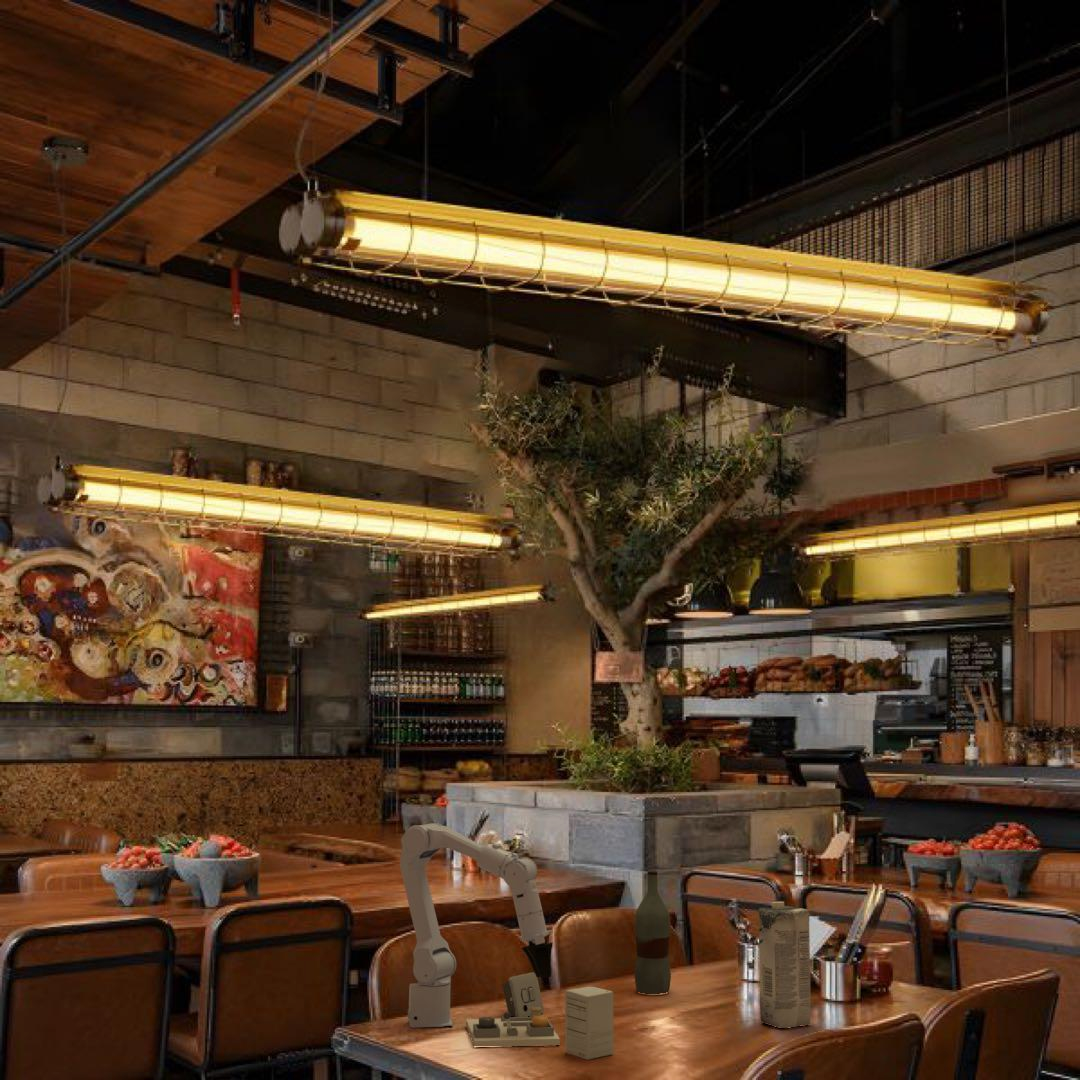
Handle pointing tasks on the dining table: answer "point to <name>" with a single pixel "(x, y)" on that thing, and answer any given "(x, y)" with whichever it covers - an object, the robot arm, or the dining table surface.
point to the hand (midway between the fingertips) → (543, 977)
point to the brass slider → (535, 1012)
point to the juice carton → (784, 965)
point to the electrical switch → (522, 994)
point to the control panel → (512, 1033)
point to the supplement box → (589, 1022)
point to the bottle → (652, 941)
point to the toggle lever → (508, 1020)
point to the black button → (486, 1022)
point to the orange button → (539, 1021)
